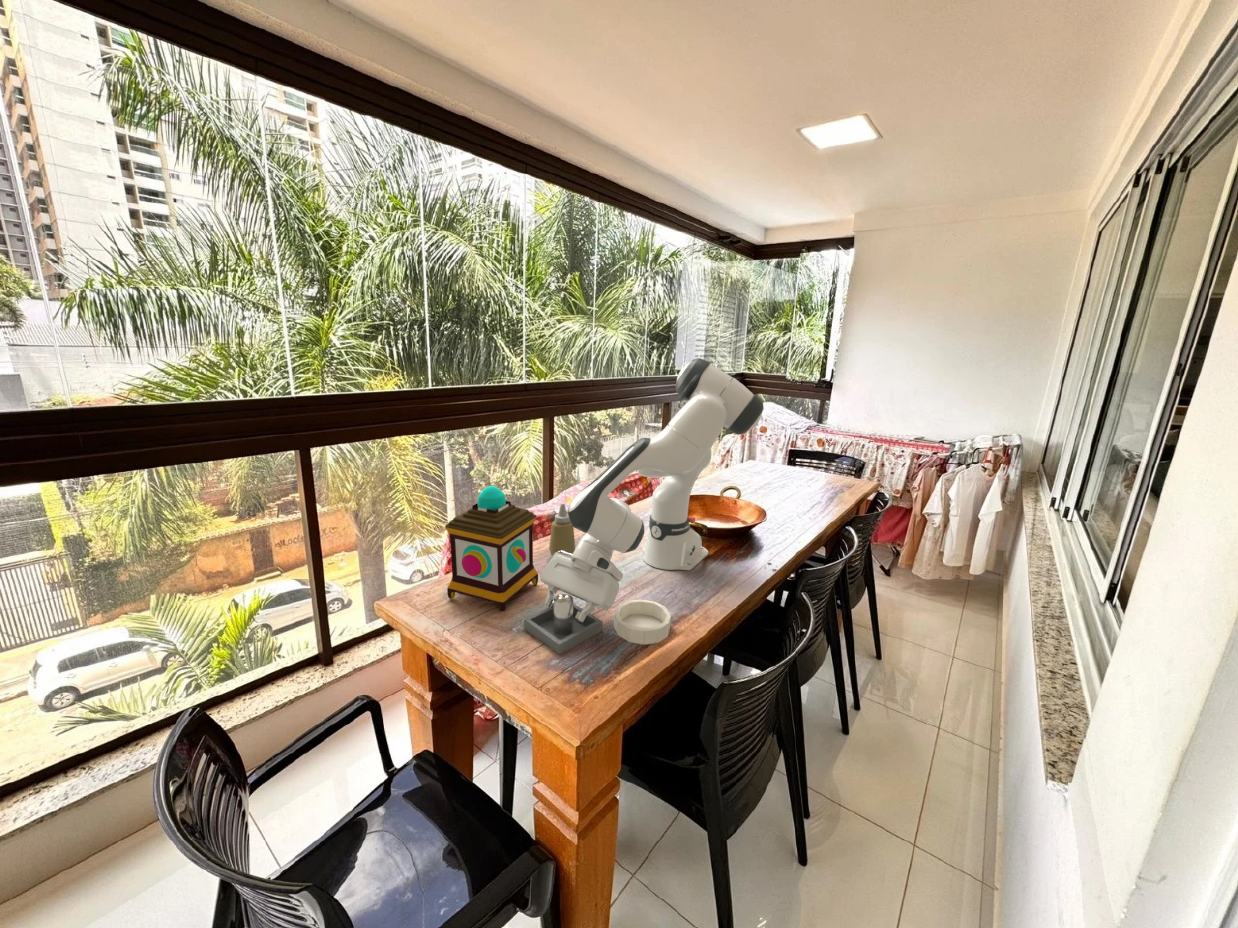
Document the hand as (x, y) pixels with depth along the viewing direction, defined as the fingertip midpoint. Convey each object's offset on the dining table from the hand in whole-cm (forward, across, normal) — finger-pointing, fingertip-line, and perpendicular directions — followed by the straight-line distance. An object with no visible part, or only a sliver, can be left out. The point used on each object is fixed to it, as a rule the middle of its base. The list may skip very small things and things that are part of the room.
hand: (562, 613), depth 116 cm
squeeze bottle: (-17, -26, +25) cm, 40 cm away
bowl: (-5, +14, +13) cm, 20 cm away
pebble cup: (+3, 0, +4) cm, 5 cm away
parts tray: (+4, 0, +4) cm, 6 cm away
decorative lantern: (+2, -27, +6) cm, 28 cm away
